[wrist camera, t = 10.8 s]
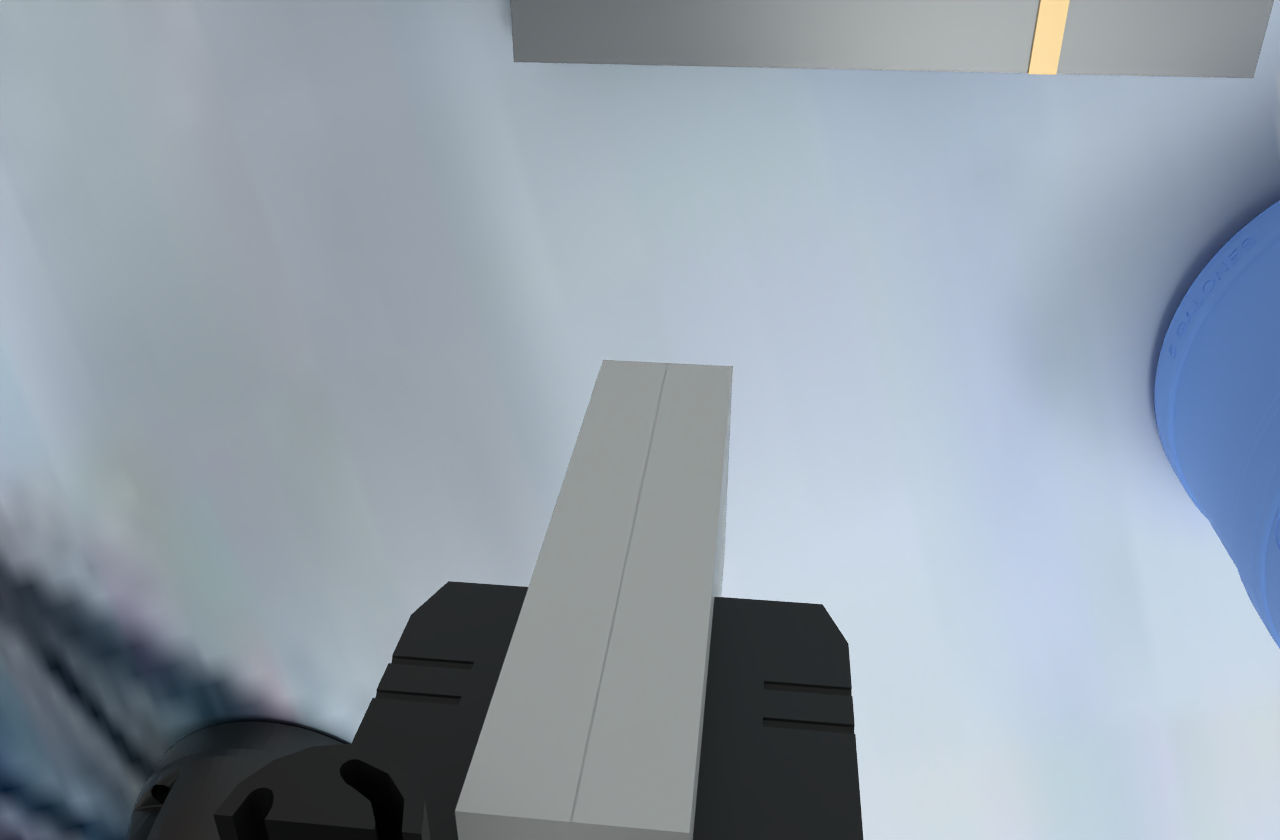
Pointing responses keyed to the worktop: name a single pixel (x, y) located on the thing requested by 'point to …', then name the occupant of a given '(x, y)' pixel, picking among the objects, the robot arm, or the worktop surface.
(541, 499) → the worktop surface
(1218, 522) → the water jug
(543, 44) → the console
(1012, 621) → the worktop surface
